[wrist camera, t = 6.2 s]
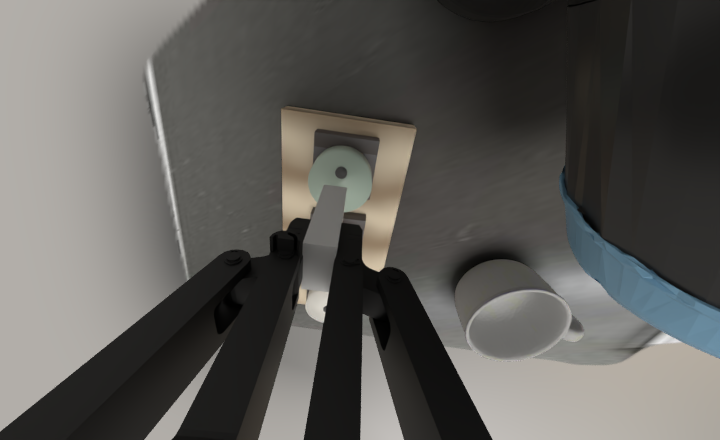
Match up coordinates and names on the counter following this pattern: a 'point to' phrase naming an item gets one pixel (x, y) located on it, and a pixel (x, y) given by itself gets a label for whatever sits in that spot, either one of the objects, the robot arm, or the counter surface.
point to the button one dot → (317, 304)
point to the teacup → (512, 312)
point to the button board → (380, 147)
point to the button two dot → (342, 175)
